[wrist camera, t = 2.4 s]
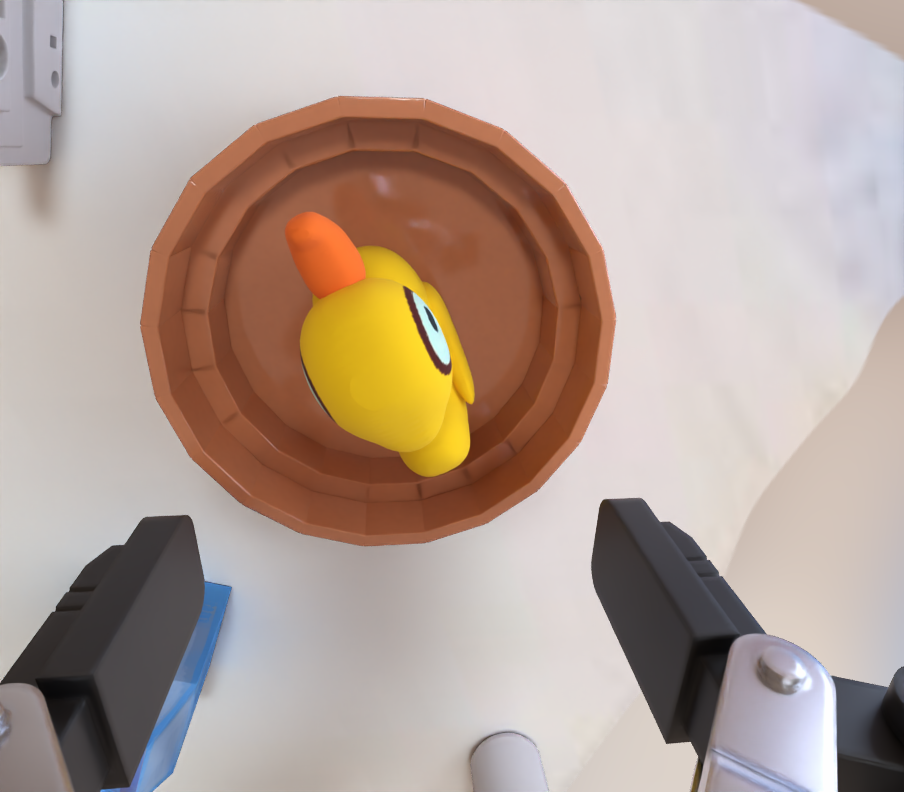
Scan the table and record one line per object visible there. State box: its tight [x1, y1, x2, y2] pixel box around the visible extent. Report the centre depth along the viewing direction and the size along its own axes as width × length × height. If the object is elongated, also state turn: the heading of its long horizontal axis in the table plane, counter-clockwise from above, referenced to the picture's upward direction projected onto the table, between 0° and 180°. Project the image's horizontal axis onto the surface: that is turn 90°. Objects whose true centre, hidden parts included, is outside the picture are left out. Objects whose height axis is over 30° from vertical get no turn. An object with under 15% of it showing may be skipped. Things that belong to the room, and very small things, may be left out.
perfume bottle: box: [100, 582, 232, 792], centre depth 26 cm, size 6×6×12 cm
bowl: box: [140, 96, 616, 546], centre depth 24 cm, size 17×17×6 cm
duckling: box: [285, 212, 475, 477], centre depth 21 cm, size 11×5×10 cm, turn 23°
